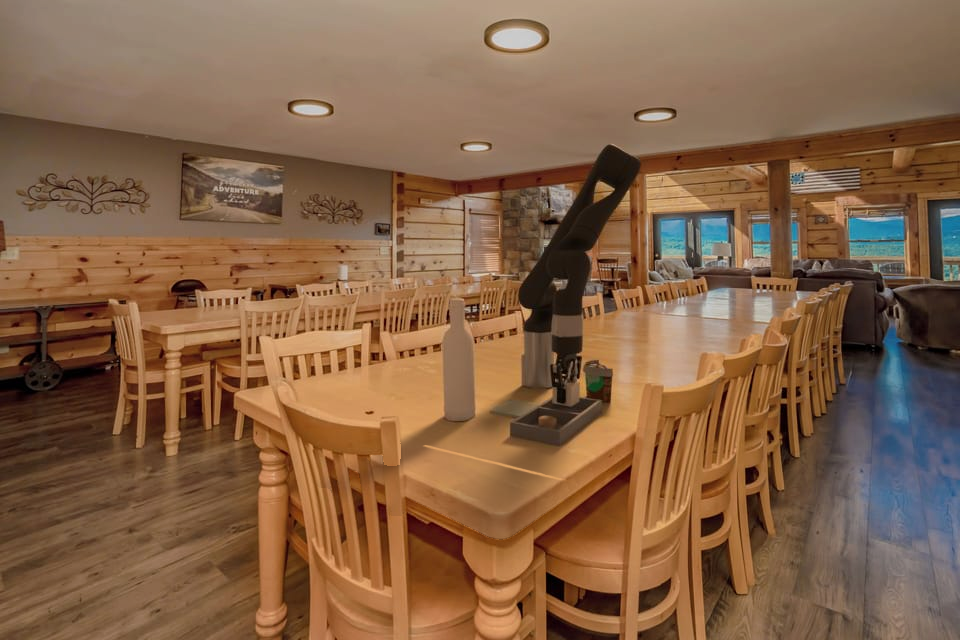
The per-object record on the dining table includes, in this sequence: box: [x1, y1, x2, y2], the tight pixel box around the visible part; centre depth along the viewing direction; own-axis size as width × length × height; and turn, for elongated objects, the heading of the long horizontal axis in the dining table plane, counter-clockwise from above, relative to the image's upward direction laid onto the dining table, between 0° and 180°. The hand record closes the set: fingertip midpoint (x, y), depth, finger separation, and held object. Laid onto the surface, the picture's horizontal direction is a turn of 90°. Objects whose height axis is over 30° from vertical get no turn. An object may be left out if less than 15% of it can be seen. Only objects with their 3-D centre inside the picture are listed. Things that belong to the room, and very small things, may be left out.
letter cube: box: [551, 380, 581, 407], centre depth 122 cm, size 5×5×5 cm
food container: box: [582, 359, 614, 404], centre depth 136 cm, size 12×6×10 cm, turn 5°
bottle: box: [441, 297, 476, 422], centre depth 122 cm, size 8×8×30 cm
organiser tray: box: [509, 396, 603, 447], centre depth 117 cm, size 12×26×4 cm, turn 147°
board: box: [489, 399, 541, 419], centre depth 127 cm, size 11×11×1 cm
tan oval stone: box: [539, 416, 556, 430], centre depth 112 cm, size 4×4×3 cm
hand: (566, 399), depth 122 cm, fingers closed on letter cube, 5 cm apart
